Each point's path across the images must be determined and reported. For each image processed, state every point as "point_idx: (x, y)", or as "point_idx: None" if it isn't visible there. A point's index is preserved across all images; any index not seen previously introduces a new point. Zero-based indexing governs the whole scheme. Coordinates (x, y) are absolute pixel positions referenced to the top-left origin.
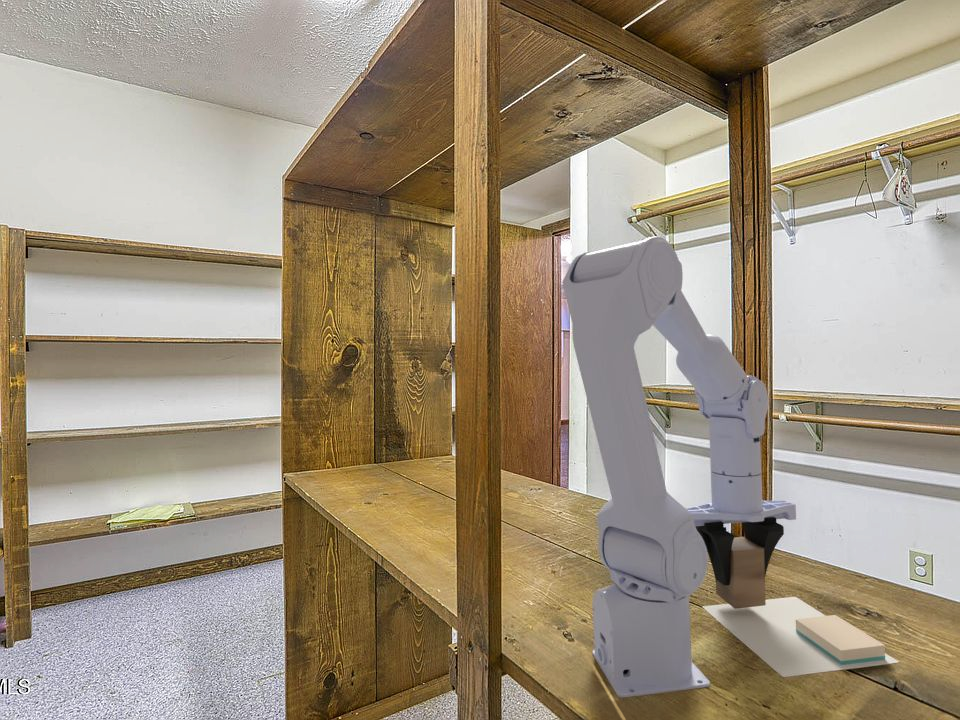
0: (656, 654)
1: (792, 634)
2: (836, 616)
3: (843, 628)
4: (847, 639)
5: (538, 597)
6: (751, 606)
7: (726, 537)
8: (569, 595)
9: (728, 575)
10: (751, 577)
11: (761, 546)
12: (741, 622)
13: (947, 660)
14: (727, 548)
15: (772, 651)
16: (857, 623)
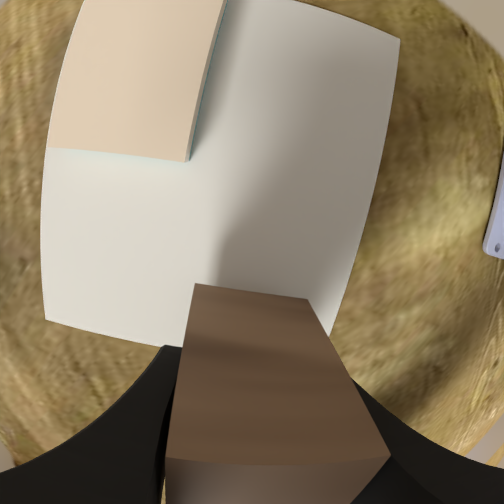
0: None
1: (210, 155)
2: (52, 136)
3: (96, 69)
4: (149, 15)
5: (477, 425)
6: (248, 291)
7: (498, 493)
8: (450, 430)
9: None
10: (255, 350)
11: (154, 473)
12: (295, 266)
13: (5, 6)
14: (423, 465)
15: (344, 112)
16: (3, 167)
